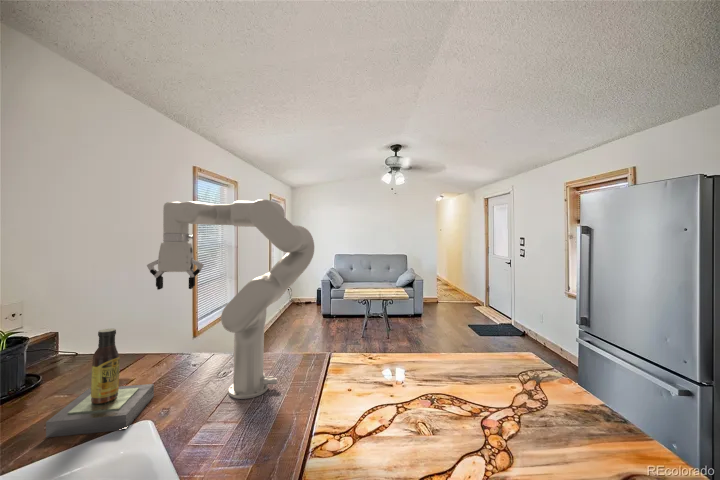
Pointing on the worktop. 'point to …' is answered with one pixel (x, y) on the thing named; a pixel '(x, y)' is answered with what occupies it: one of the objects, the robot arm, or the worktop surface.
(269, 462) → the worktop surface
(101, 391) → the sauce bottle
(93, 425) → the stand
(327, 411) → the worktop surface
